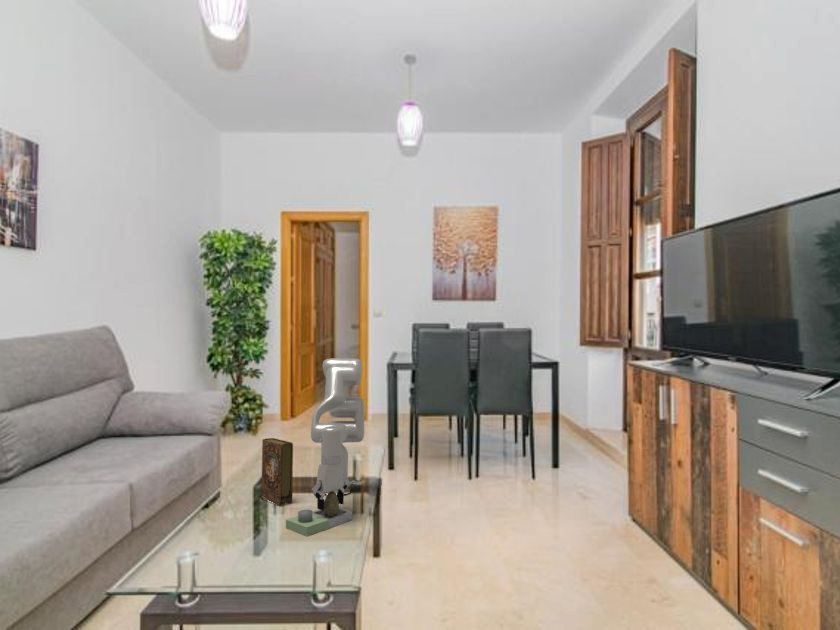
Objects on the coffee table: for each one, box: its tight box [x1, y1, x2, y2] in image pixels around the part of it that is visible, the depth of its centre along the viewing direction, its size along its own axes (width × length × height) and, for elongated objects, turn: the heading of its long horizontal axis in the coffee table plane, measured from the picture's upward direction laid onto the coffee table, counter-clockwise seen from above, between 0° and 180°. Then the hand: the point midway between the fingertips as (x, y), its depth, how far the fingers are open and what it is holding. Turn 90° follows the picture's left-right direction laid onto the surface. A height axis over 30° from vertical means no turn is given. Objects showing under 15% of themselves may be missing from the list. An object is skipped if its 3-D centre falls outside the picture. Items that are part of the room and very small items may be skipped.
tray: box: [312, 507, 353, 529], centre depth 193 cm, size 11×11×3 cm
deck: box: [285, 509, 330, 537], centre depth 185 cm, size 10×12×6 cm
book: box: [260, 437, 294, 507], centre depth 217 cm, size 16×6×25 cm, turn 47°
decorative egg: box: [323, 491, 340, 518], centre depth 193 cm, size 6×6×10 cm
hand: (330, 506), depth 193 cm, fingers open, 9 cm apart
